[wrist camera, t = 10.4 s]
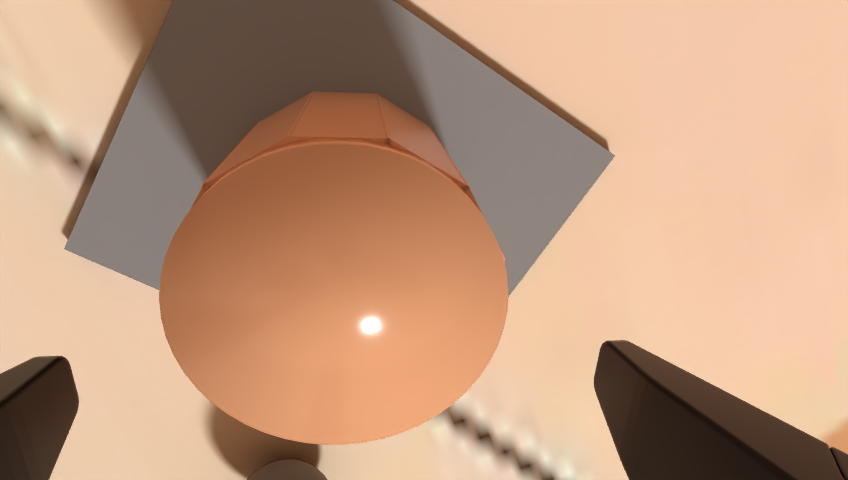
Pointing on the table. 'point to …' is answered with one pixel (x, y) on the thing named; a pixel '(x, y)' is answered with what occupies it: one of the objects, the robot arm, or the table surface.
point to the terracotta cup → (334, 276)
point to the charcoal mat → (322, 72)
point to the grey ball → (287, 471)
